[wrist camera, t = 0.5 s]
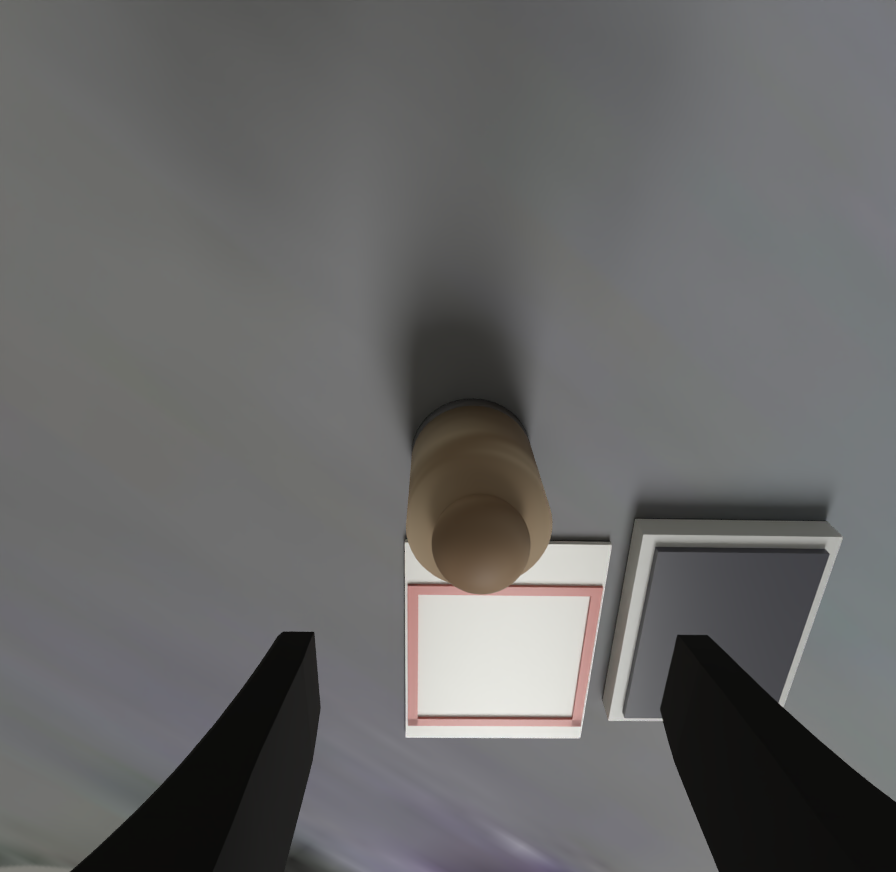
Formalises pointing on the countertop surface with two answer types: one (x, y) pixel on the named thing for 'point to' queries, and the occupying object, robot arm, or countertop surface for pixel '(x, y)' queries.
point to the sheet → (504, 648)
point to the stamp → (476, 497)
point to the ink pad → (716, 602)
